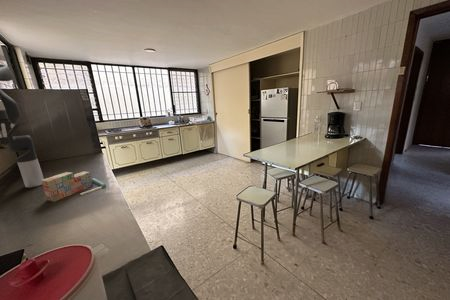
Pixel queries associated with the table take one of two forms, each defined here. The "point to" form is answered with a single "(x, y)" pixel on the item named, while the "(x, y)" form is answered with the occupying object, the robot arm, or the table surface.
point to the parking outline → (95, 188)
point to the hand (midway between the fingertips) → (5, 144)
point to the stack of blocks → (66, 184)
